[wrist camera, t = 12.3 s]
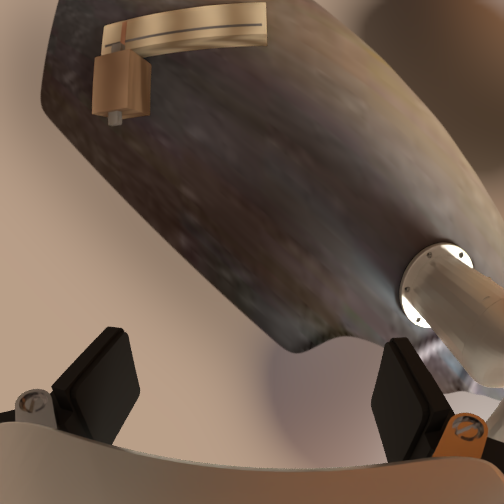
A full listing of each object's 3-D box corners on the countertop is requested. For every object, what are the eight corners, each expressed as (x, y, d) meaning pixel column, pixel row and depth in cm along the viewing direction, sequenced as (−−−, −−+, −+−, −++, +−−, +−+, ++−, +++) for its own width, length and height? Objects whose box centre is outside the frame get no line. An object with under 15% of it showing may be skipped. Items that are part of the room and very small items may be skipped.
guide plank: (266, 16, 31) (265, 1, 27) (267, 45, 33) (266, 33, 29) (117, 35, 33) (103, 25, 29) (114, 63, 34) (100, 55, 30)
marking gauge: (151, 54, 33) (130, 37, 27) (150, 126, 36) (127, 120, 30) (120, 60, 34) (96, 45, 27) (118, 130, 36) (91, 126, 30)
